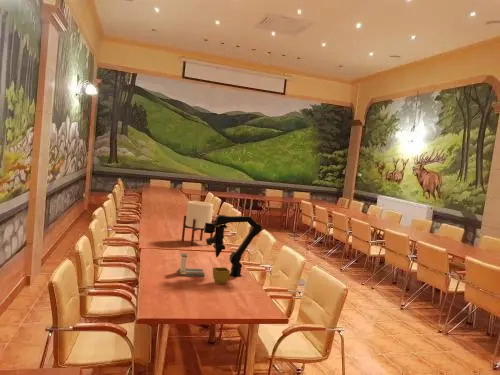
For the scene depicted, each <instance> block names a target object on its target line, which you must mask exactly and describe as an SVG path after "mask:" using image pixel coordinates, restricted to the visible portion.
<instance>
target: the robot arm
mask: <svg viewBox="0 0 500 375" xmlns="http://www.w3.org/2000/svg"><path fill="white" fill-rule="evenodd" d="M230 223H247V224H249V226H250V227H249V231H248V234H247V235H246V236H245V238H244V240H243V241H242V243H241V244H240V245H239V247H238V248H237V249H236V250H235V251H234V250H232V252H231V253H230V254H229V257H228V258H229V259H228V260H229V262H230V263H231V264H230V265H231V268H230V274H229V276H231V277H234V278H238V277H243V274H242V273H241V272H242V268H243V265H242V263H241V262H240V261H241V259H242V256H243V255H244V252H245V250H246V249H247V248H248V247H249V245H250V244H251V242H252V241H253V239H254V238H255V237H256V236H258V235H259V234H260V232H262V229H263V228H262V225H261V224H260V223H259V222H256V221H255V220H254V219H253V218H252V217H251V216H249V215H240V216H239V215H238V216H237V215H232V216H231V215H225V214H218V215H217V216H216V217H215V219H214V222H213V223H212V222H211V223H205V227H204V230H203V234H211V233H213V234H214V235H213V236H212V237H211V238H210V237H207V238H205V242H206V245H209V244H211V243H212V246H213V248H214V252H215V257H216V258H218V257H219V256H220V254H221V252H222V250H223V251H224V250H226V246H225V245H224V238H225V236H224V233H225V229H228V226H227V225H226V224H230ZM213 244H214V245H213Z"/></svg>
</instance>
